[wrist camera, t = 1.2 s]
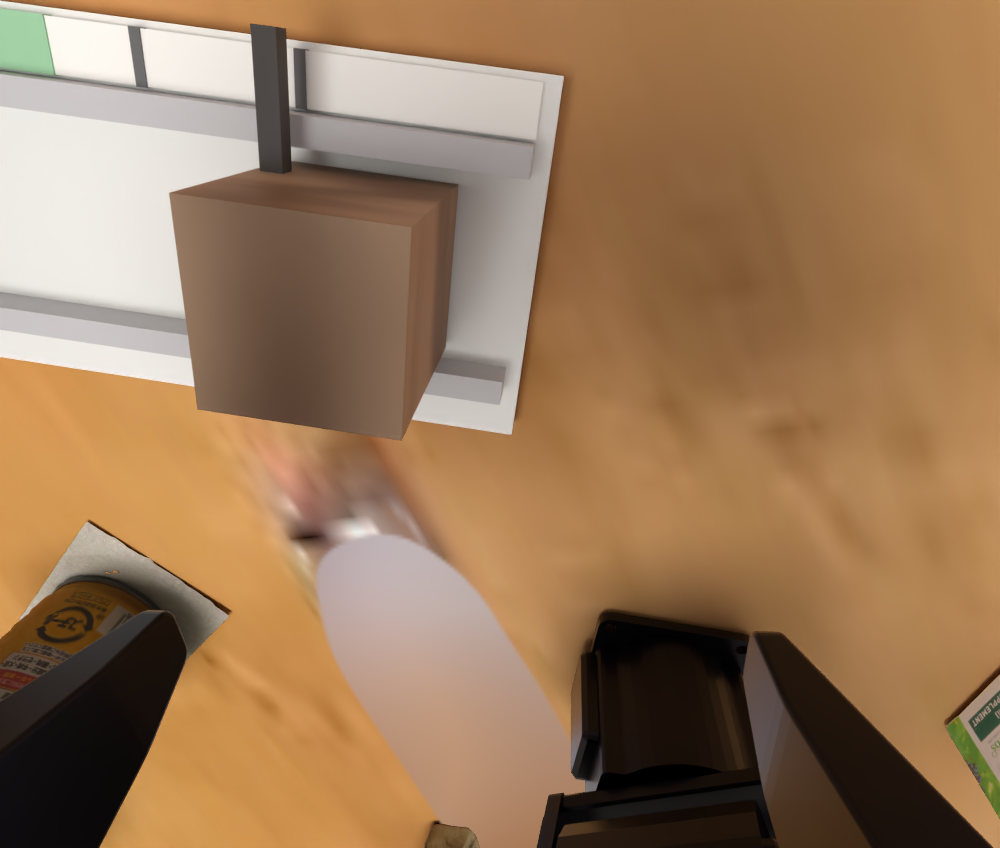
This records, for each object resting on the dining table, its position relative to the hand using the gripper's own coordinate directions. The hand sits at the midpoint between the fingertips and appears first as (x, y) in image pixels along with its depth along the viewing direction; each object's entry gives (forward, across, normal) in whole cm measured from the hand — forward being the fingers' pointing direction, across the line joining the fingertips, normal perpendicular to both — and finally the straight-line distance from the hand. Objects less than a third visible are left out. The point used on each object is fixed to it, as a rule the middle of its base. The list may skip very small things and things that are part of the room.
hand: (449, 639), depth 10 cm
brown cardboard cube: (+12, +4, -5) cm, 13 cm away
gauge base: (+13, +11, -4) cm, 17 cm away
